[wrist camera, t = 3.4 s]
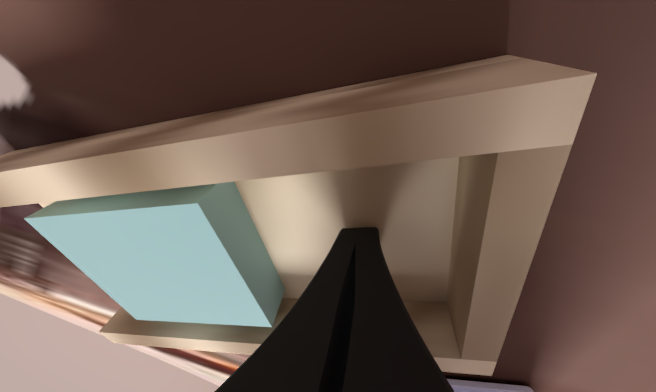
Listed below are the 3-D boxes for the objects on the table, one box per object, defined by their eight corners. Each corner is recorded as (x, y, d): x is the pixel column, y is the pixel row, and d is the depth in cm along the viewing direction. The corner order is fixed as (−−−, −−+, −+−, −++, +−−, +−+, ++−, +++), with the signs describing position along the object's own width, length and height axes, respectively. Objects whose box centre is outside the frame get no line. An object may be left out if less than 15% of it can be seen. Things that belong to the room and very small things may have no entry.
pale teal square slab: (229, 171, 9) (197, 203, 7) (285, 289, 13) (272, 327, 11) (75, 190, 11) (23, 218, 9) (162, 287, 15) (136, 319, 13)
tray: (507, 54, 6) (597, 73, 4) (467, 302, 12) (491, 376, 10) (14, 150, 11) (-93, 187, 9) (152, 295, 17) (112, 342, 15)
